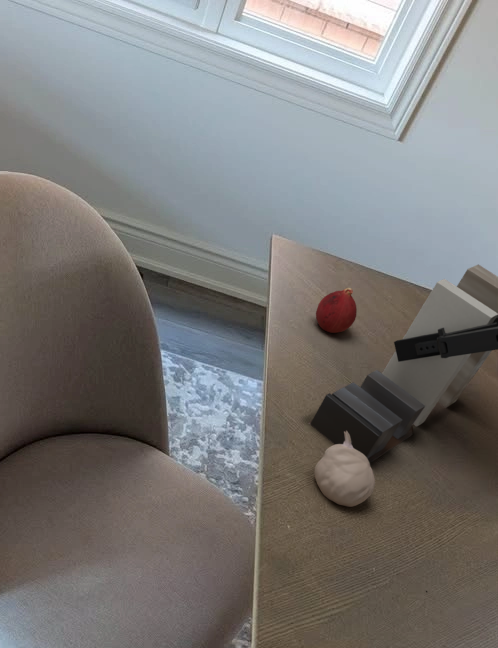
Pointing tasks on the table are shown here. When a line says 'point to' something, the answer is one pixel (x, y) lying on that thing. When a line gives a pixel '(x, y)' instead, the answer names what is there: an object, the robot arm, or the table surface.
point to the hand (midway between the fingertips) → (406, 346)
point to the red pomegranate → (336, 311)
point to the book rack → (396, 392)
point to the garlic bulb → (345, 474)
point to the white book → (435, 372)
